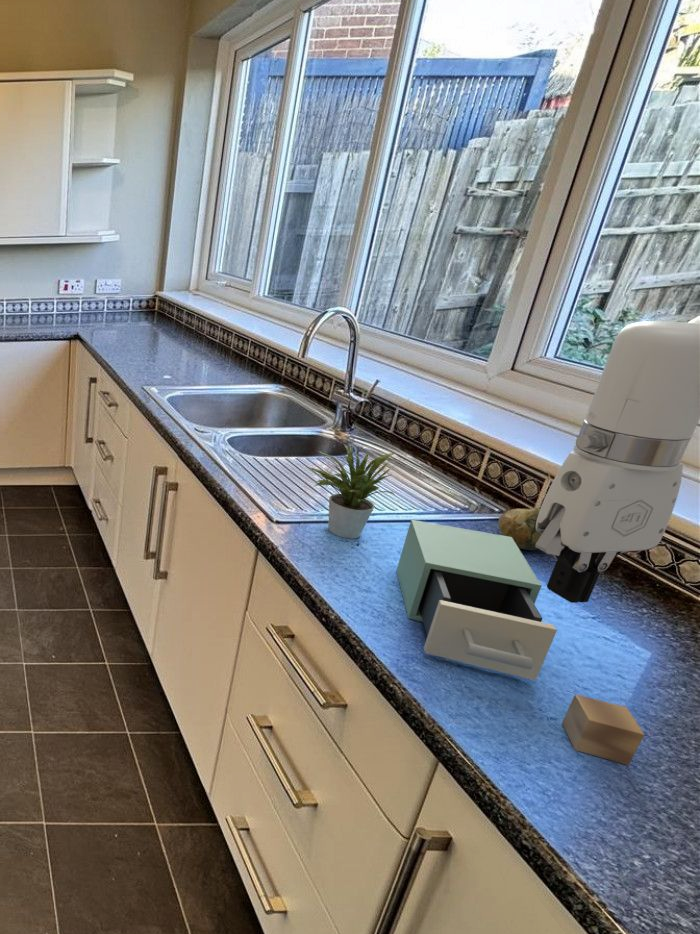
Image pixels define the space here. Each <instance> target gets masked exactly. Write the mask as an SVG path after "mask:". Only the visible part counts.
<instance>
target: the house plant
mask: <svg viewBox="0 0 700 934" xmlns="http://www.w3.org/2000/svg"><path fill="white" fill-rule="evenodd" d="M344 448H345V450H346V453H347V455H346V454H345V453H342V455H343V456H344V458H345V460H346V463H347V465H348V469H349V474H348V473H347V471H346V470H345V469H346V468H344V466H343V465H342V463H340V461H339V460H338V459H337V458H335V457H334V456H333V455H330V454H328V453H326V452H323V451H319V450H315V449H314V450H315V452H318V453H320V454H323V455H325V456H324V458H325V459H328V460H330V461H332V462H336V464H335V463H332V462H330V461H327V463H328V464H332V465H333V466H334V467H335V469H336V470H337V471H338V473H334V474H331V473H329V472H327V471H324V470H322V469H318V468H314V467H310V466H309V467H308V468H309V469H310V470H312V471H314V474H315V475H318V476H321V477H322V478H323V479H318V480H316V481H314V484H315V483H316V484H315V485H314V487H317V486H331V487H332V488H333V489H334V490H335V492H337V493H335V494H334V493H333V494H332V495H330V496H329V497H328V521H327V523H328V525H327V526H328V527H327V529H328V531H329V532H330V533H331V534H333V535H335V536H337V537H339V538H344V539H351V540H352V539H359V538H360V536H361V534H362V533H363V530H364V528H365V526H366V525H367V523H368V521H369V519H370V516H371V515H372V514H373V513H372V512H373V511H374V509H375V504H374V503H373V502H372V501H371V500H369V499H367V498H368V497H370V496H371V495H374V494H377V493H379V494H380V493H388V494H391V495H393V496H394V497H396V494H395V493H394V492H392V491H389V490H381V491H377V490H378V489H380V487H379V486H377V484H381V483H382V480H385V478H388V477H392V474H388V472H390V470H392V469H393V468H394V467H395V465H393V466H391V467H390V468H388V469H387V470H386V471H384V472H383V473H382V474H381V475H379V474H380V473H381V472H382V471H383V470H384V469H386V467H387V466H388V465H389V464H390V463H391V460H389V461H387V460H388V459H389V458H390V457H392V456H393V455H395V454H396V452H391V453H387V454H385V455H381V456H378V457H376V458H374V459H373V460H371V461H370V462H369V463H368V464H367V462H368V459H369V453H367V454H365V456H364V458H363V459H362V460H361V462H360V457H359V456H358V454H357V453H354V454H353V452H352V450H351V449H350V448H349V446H347V445H346V444H344ZM354 456H355V461H354ZM386 461H387V462H386ZM354 462H355V463H354ZM385 462H386V463H385ZM383 463H385V464H383ZM337 465H338V466H337ZM381 465H382V466H381ZM380 466H381V467H380ZM339 467H340V468H339ZM379 467H380V468H379ZM377 469H378V470H377ZM386 474H387V475H386ZM378 475H379V476H378ZM377 476H378V477H377ZM376 477H377V478H376Z"/></svg>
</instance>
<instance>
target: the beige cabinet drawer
mask: <svg viewBox="0 0 700 934" xmlns="http://www.w3.org/2000/svg"><path fill="white" fill-rule="evenodd" d="M419 608H420V612H421V615H422V619H423V622H422V623H423V626H424V630H425V632H426V639H425V643H424V644H423V651H424V653H425V654H426V655H430V656H435V657H440V658H444V659H447V660H451V661H455V662H459V663H463V664H467V665H471V666H475V667H478V668H483V669H487V670H490V671H494V672H499V673H502V674H507V675H511V676H515V677H518V678H523V679H526V680H531V681H534V682H536V681H537V679H538V677H539V675H540V673H541V670H542V667H543V665H544V663H545V660H546V657H547V655H548V653H549V651H550V648H551V645H552V643H553V641H554V638H555V636H556V634H557V632H558V629H557V628H556V626H555V624H552V623H549V622H548V623H547V622H543V617H542V615H541V613H540V611H539V610H538V608H537V606H536V603H535V604H534V603H533V601H532V599H531V597H530V596H529V594H528V592H527V590H526V589H525V587H520V586H515V585H510V584H505V583H500V582H495V581H490V580H485V579H480V578H475V577H470V576H465V575H460V574H455V573H450V572H445V571H440V570H435V569H431V570H430V573H429V576H428V579H427V582H426V586H425V589H424V592H423V595H422V598H421V601H420V605H419Z"/></svg>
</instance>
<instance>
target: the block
mask: <svg viewBox="0 0 700 934" xmlns="http://www.w3.org/2000/svg"><path fill="white" fill-rule="evenodd" d="M569 704H570V705H569V707H568V709H567V711H566V713H565V715H564V717H563V720H562V722H561V725H562V726H563V729H564V731H565V733H566V734H567V737H568V739H569V741H570V743H571V745H572V747H573V749H574V750H575V751H577V752H581V753H584V754H586V755H591V756H594V757H598V758H601V759H604V760H608V761H612V762H616V763H619V764H622V765H626V766H630V764H631V762H632V760H633V758H634V756H635V754H636V752H637V751H638V748H639V746H640V744H641V743H642V741H643V739H644V737H645V733H644V732H643V729H642V728H641V727H640V725H639V724H638V722H637V720H636V719H635V717H634V716H633V714H632V713H631V711H630V710H629V708H628V707H627V706H624V705H619V704H615V703H612V702H608V701H604V700H599V699H597V698H592V697H588V696H584V695H580V694H577V693H576V694H574V695H573V698H572V699H571V702H570V703H569Z"/></svg>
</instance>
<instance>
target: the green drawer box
mask: <svg viewBox="0 0 700 934" xmlns="http://www.w3.org/2000/svg"><path fill="white" fill-rule="evenodd" d="M404 540H405V541H404V543H403V547H402V550H401V553H400V557H399V560H398V563H397V568H396V573H397V578H398V582H399V586H400V587H399V588H400V590H401V595H402V599H403V604H404V607H405V611H406V615H407V618H408V619H409V620H413V621H416V622H422V623H424V622H423V619H422V615H421V612H420V608H419V605H420V601H421V598H422V595H423V592H424V589H425V586H426V582H427V579H428V576H429V573H430V570H431V569H435V570H440V571H445V572H450V573H455V574H460V575H465V576H470V577H475V578H480V579H485V580H490V581H495V582H500V583H505V584H510V585H515V586H520V587H525V589H526V590H527V592H528V594H529V596H530V597H531V599H532V601H533V603H534V604H535V605H536V601H537V598H538V596H539V594H540V591H541V589H542V586H543V585H542V584H541V582H540V580H539V578H538V577H537V576H536V574H535V572H534V571H533V569H532V567H531V566H530V564H529V562H528V561H527V559H526V558H525V556H524V555H523V552H522V551H521V549H519V548H518V546H517V545H516V543H515V542H514V540H513V538H512V537H508V536H503V535H502V534H496V533H490V532H484V531H479V530H473V529H468V528H462V527H457V526H452V525H451V526H450V525H445V524H438V523H433V522H427V521H422V520H416V519H410V523H409V525H408V528H407V532H406V536H405V539H404Z"/></svg>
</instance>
